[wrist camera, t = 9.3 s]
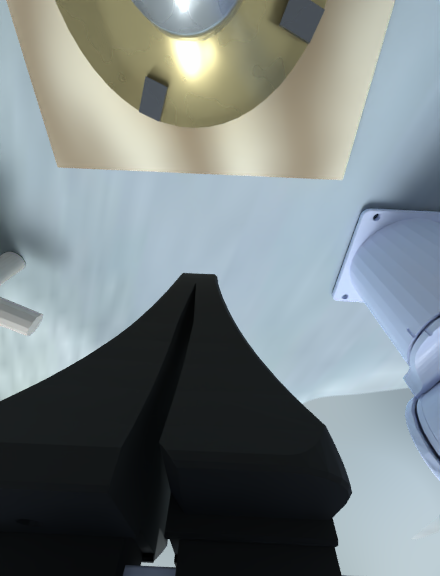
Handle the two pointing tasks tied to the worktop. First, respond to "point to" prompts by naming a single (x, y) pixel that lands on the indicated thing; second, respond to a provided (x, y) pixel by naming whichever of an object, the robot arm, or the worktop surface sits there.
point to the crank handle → (192, 52)
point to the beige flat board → (220, 138)
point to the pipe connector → (10, 312)
